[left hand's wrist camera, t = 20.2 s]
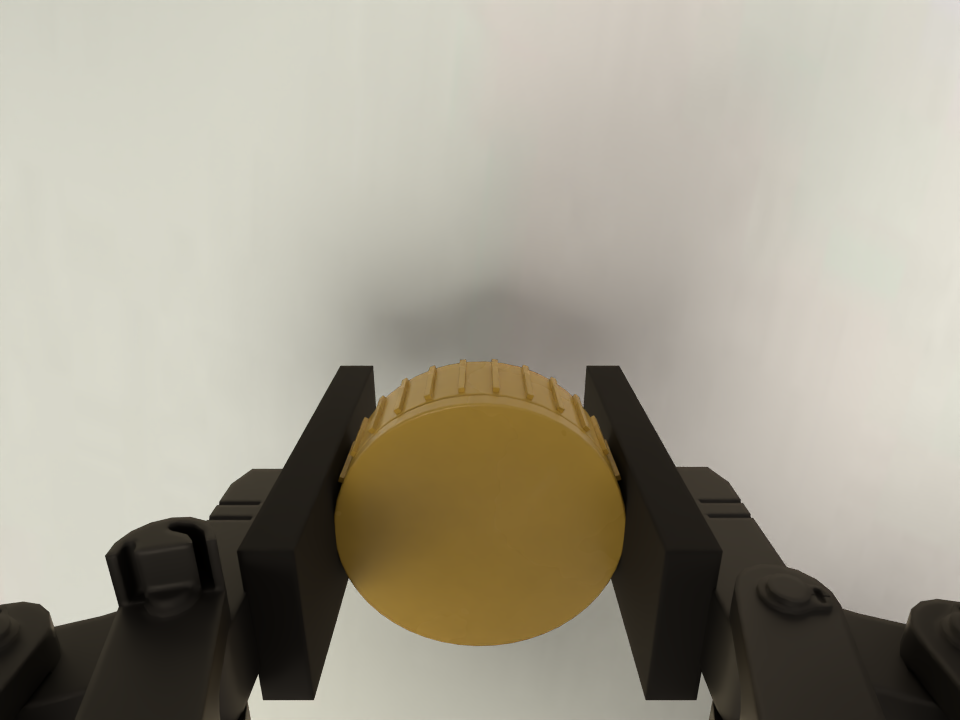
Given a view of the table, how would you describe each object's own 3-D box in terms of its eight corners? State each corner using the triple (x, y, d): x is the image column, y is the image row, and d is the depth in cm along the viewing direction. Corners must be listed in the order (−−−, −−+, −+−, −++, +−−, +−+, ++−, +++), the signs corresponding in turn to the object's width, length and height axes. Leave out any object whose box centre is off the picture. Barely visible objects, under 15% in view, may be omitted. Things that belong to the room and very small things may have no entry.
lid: (627, 555, 13) (649, 622, 11) (391, 600, 13) (379, 670, 12) (585, 329, 11) (605, 368, 9) (314, 389, 11) (285, 437, 10)
